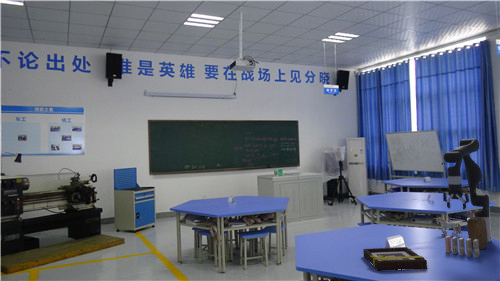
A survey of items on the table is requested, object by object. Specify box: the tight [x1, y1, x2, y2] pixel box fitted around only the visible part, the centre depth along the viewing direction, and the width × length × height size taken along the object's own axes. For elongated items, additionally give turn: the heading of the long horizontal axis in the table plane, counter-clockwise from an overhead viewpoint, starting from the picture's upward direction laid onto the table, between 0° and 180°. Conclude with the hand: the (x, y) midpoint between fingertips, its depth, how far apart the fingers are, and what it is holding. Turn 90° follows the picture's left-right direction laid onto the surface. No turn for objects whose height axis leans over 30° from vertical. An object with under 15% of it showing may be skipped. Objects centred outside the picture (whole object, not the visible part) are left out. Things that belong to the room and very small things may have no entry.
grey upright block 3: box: [458, 237, 466, 256], centre depth 227 cm, size 2×5×10 cm, turn 133°
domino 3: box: [465, 238, 473, 257], centre depth 224 cm, size 2×5×10 cm, turn 132°
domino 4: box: [472, 239, 480, 259], centre depth 222 cm, size 2×5×10 cm, turn 133°
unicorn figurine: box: [432, 216, 463, 237], centre depth 276 cm, size 7×20×13 cm, turn 70°
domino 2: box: [451, 236, 459, 255], centre depth 230 cm, size 2×5×10 cm, turn 133°
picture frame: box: [362, 246, 428, 271], centre depth 219 cm, size 28×7×30 cm
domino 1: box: [444, 235, 452, 254], centre depth 233 cm, size 2×5×10 cm, turn 133°
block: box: [466, 216, 489, 250], centre depth 240 cm, size 11×8×20 cm
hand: (456, 208), depth 227 cm, fingers open, 8 cm apart
